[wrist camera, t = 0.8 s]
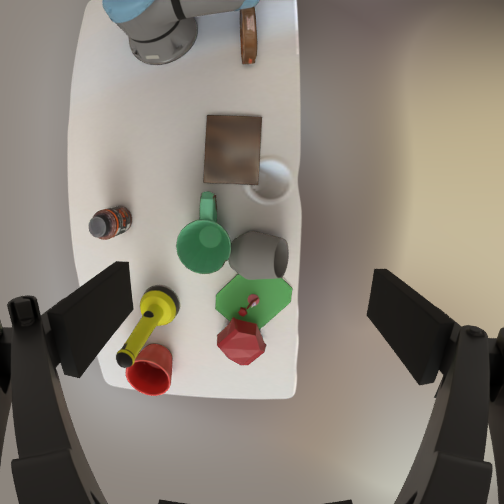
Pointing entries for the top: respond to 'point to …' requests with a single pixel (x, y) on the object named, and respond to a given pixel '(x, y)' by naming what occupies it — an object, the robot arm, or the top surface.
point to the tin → (248, 35)
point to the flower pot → (151, 370)
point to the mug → (204, 240)
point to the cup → (259, 256)
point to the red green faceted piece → (249, 315)
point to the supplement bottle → (110, 222)
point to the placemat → (232, 149)
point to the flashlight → (149, 321)
